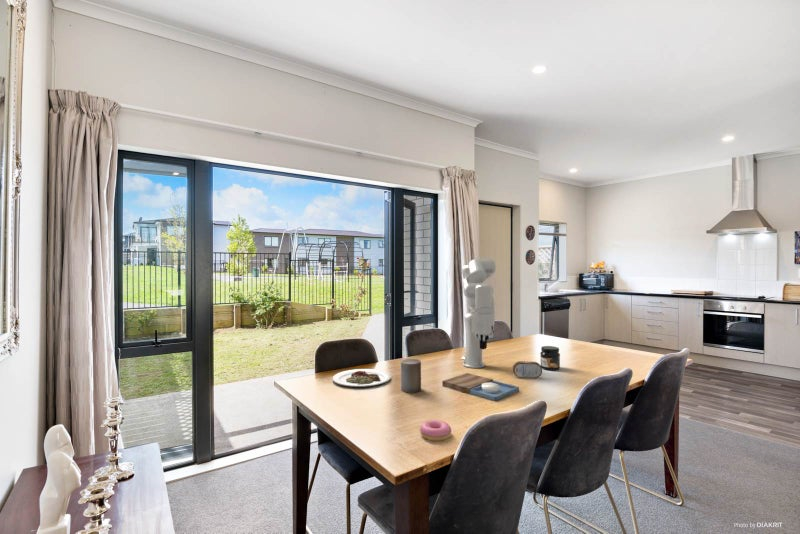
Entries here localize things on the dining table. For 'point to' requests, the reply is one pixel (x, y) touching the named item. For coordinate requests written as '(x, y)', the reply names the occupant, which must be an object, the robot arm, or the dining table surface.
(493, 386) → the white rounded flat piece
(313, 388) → the dining table surface
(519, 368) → the tin
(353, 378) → the plated food
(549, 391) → the dining table surface
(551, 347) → the supplement container
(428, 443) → the dining table surface
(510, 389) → the tray
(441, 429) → the doughnut
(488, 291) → the robot arm
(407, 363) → the pillar candle
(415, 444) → the dining table surface
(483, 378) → the wooden cutting board
